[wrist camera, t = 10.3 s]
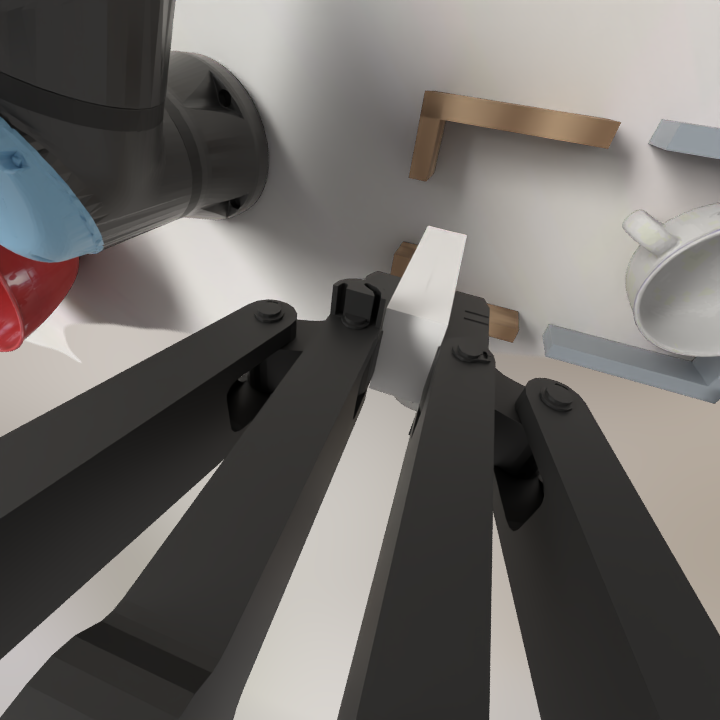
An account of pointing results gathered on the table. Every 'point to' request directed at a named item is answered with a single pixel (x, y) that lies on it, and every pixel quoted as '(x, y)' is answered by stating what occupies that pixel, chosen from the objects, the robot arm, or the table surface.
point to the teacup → (677, 280)
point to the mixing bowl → (30, 294)
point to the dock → (633, 363)
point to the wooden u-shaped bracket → (501, 118)
